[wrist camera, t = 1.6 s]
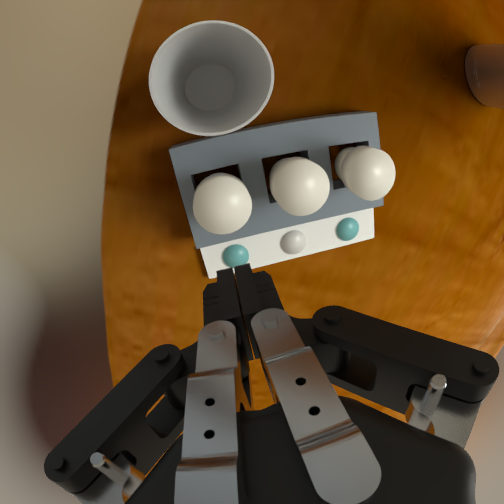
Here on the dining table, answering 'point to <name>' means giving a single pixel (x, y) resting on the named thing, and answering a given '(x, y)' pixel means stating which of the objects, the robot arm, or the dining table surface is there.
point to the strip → (290, 242)
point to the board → (252, 174)
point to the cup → (211, 78)
